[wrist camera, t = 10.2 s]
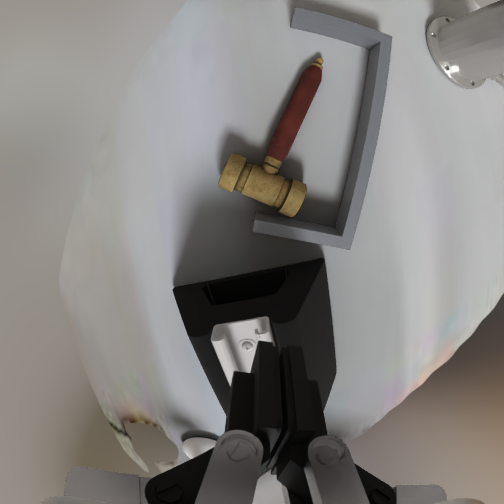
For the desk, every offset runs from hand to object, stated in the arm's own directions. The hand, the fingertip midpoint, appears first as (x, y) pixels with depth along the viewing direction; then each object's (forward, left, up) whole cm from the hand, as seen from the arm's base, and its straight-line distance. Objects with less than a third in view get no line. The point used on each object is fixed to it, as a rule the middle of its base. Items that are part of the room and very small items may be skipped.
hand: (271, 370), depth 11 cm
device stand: (-4, +20, -30) cm, 36 cm away
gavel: (-1, -11, -30) cm, 32 cm away
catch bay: (-5, -12, -29) cm, 32 cm away
